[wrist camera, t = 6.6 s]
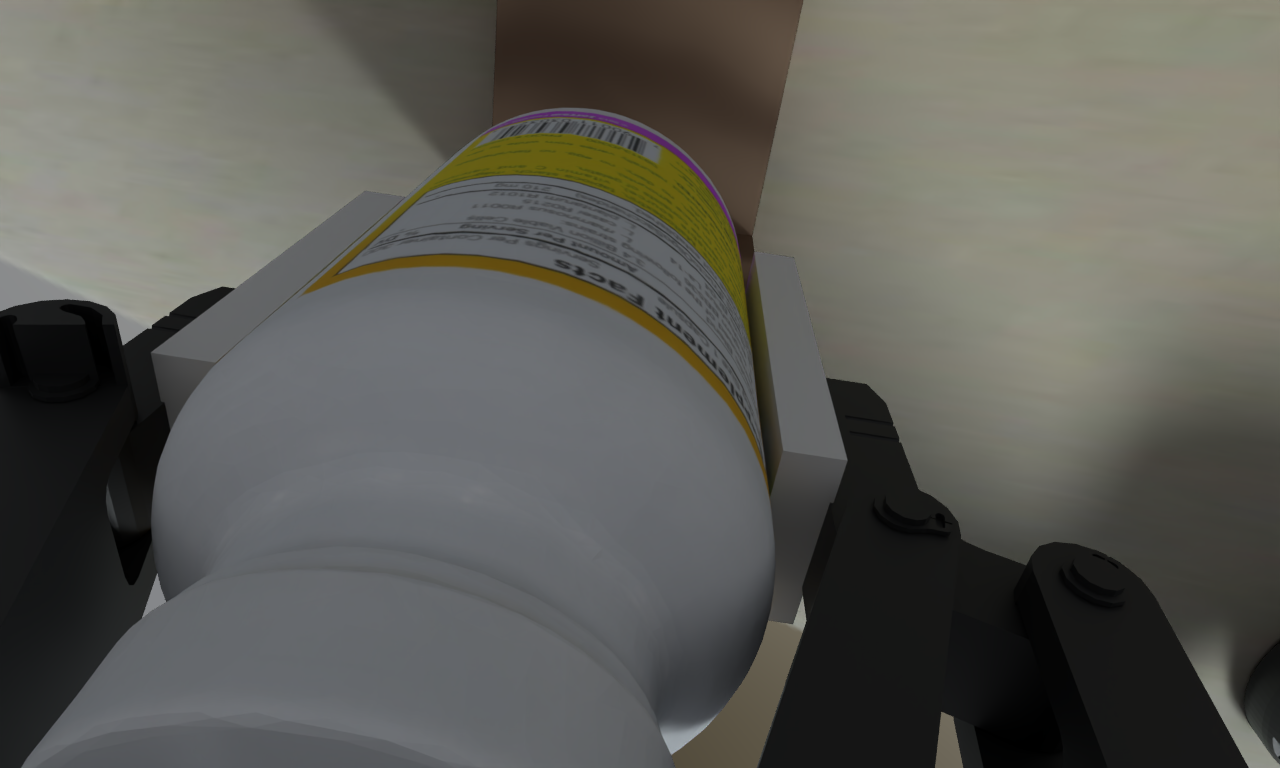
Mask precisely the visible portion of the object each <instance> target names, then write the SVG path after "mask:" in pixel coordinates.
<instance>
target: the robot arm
mask: <svg viewBox="0 0 1280 768" xmlns="http://www.w3.org/2000/svg"><path fill="white" fill-rule="evenodd" d="M404 199H405V197H402V196H395V195H389V194H382V193H376V192H369V191H364V192H363V193H362V194H360V195H359V196H358V197H356V198H355V199H354V200H352V201H351V202H350V203H348V204H347V205H346V206H344V207H343V208H342V209H340V210H339V211H338V212H336V213H335V214H334V215H333V216H331V217H330V218H329V219H327V220H326V221H325V222H323V223H322V224H321V225H319V226H318V227H317V228H315V229H314V230H313V231H311V232H310V233H309V234H307V235H306V236H305V237H303V238H302V239H301V240H299V241H298V242H297V243H295V244H294V245H293V246H291V247H290V248H289V249H287V250H286V251H285V252H283V253H282V254H281V255H279V256H278V257H277V258H276V259H274V260H273V261H272V262H270V263H269V264H268V265H266V266H265V267H264V268H262V269H261V270H260V271H258V272H257V273H256V274H254V275H253V276H252V277H250V278H249V279H248V280H246V281H245V282H244V283H242V284H241V285H240V286H238V287H237V288H236V289H235V288H228V287H220V288H217V289H214V290H211V291H209V292H206V293H203V294H200V295H197V296H194V297H192V298H190V299H188V300H187V301H186V302H184V303H183V304H181V305H180V306H179V307H177V308H176V309H174V310H173V311H171V312H170V315H169V316H164V317H163V318H162V319H160V320H159V321H157V322H156V323H155V324H153V325H152V329H148V328H147V329H146V330H145V331H143V332H142V333H140V334H139V335H138V336H136V337H135V338H134V339H132V340H131V341H129V342H128V343H126V344H125V345H122V341H121V337H120V333H119V328H118V324H117V319H116V315H115V314H114V313H113V312H112V311H111V310H110V309H109V308H108V307H106V306H103V305H100V304H97V303H94V302H90V301H80V300H68V299H65V300H49V301H38V302H34V303H28V304H23V305H18V306H14V307H11V308H8V309H6V310H3V311H0V768H21V767H22V765H23V764H24V762H25V761H26V759H27V758H28V756H29V755H30V754H31V753H32V751H33V750H34V749H35V747H36V746H37V745H38V744H39V742H40V741H41V740H42V739H43V737H44V736H45V735H46V734H47V732H48V731H49V730H50V729H51V727H52V726H53V725H54V724H55V722H56V721H57V720H58V719H59V717H60V716H61V715H62V714H63V712H64V711H65V710H66V709H67V707H68V706H69V705H70V704H71V702H72V701H73V700H74V699H75V697H76V696H77V695H78V693H79V692H80V691H81V689H82V688H83V687H84V685H85V684H86V683H87V681H88V680H89V679H90V677H91V676H92V675H93V673H94V672H95V671H96V669H97V668H98V667H99V665H100V664H101V663H102V661H103V660H104V659H105V657H106V656H107V655H108V653H109V652H110V651H111V649H112V648H113V647H114V646H115V644H116V643H117V642H118V641H119V640H120V638H121V637H122V636H123V635H124V634H125V633H126V632H127V631H128V630H129V629H130V628H131V627H132V626H133V625H134V624H136V623H137V622H138V621H139V620H141V619H142V616H143V613H144V610H145V607H146V604H147V601H148V598H149V595H150V592H151V590H152V586H153V583H154V581H155V578H156V575H157V569H156V565H155V560H154V552H153V544H152V531H151V513H152V500H153V490H154V484H155V478H156V472H157V467H158V463H159V460H160V457H161V455H162V452H163V449H164V447H165V444H166V441H167V439H168V436H169V433H170V431H171V429H172V427H173V425H174V423H175V421H176V419H177V417H178V415H179V413H180V411H181V410H182V408H183V406H184V405H185V403H186V401H187V400H188V398H189V397H190V395H191V394H192V393H193V391H194V390H195V389H196V388H197V386H198V385H199V384H200V382H201V381H202V380H203V378H204V377H205V376H206V375H207V373H208V372H209V371H210V369H211V368H212V367H213V366H215V365H216V364H217V363H218V362H219V361H220V360H221V359H222V358H223V357H224V356H225V355H226V354H227V353H228V352H229V351H230V350H232V349H233V348H234V347H235V346H236V345H237V344H238V343H239V342H240V341H241V340H242V339H243V338H245V337H246V336H247V335H248V334H249V333H250V332H252V331H253V330H254V329H255V328H256V327H258V326H259V325H260V324H261V323H262V322H263V321H265V320H266V319H267V318H268V317H269V316H271V315H272V314H273V313H274V312H275V311H276V310H278V309H279V308H280V307H281V306H282V305H283V304H285V303H286V302H287V301H288V300H289V299H291V298H292V297H293V296H294V295H295V294H296V293H298V292H299V291H300V290H301V289H302V288H304V287H305V286H306V285H307V284H308V283H309V282H311V281H312V280H313V279H314V278H315V277H317V276H318V275H319V274H320V273H321V272H322V271H323V270H324V269H326V268H327V267H328V266H329V265H330V264H331V263H332V262H334V261H335V260H336V259H337V258H338V257H339V256H340V255H341V254H343V253H344V252H345V251H346V250H347V249H348V248H349V247H351V246H352V245H353V244H354V243H355V242H356V241H357V240H359V239H360V238H361V237H362V236H363V235H364V234H365V233H366V232H368V231H369V230H370V229H371V228H372V227H373V226H374V225H376V224H377V223H378V222H379V221H380V220H381V219H382V218H383V217H385V216H386V215H387V214H388V213H389V212H390V211H391V210H392V209H394V208H395V207H396V206H397V205H398V204H399V203H400V202H401V201H402V200H404ZM745 294H746V304H747V313H748V321H749V330H750V338H751V347H752V356H753V365H754V374H755V382H756V391H757V400H758V409H759V417H760V424H761V433H762V441H763V449H764V457H765V464H766V472H767V480H768V487H769V495H770V503H771V511H772V521H773V531H774V541H775V583H774V592H773V599H772V605H771V611H770V615H769V619H768V620H769V621H776V622H782V623H789V624H793V623H794V620H795V617H796V614H797V611H798V608H799V605H800V602H801V599H802V596H803V599H804V606H805V613H806V620H807V622H806V625H805V628H804V630H803V633H802V637H801V639H800V642H799V645H798V648H797V651H796V654H795V656H794V659H793V663H792V665H791V668H790V671H789V674H788V677H787V680H786V683H785V686H784V690H783V692H782V695H781V698H780V701H779V704H778V707H777V710H776V713H775V716H774V719H773V722H772V725H771V727H770V730H769V733H768V736H767V739H766V742H765V745H764V748H763V751H762V754H761V757H760V760H759V763H758V766H757V768H935V762H936V753H937V744H938V735H939V726H940V717H941V712H944V713H946V714H948V715H951V716H953V717H954V724H955V729H956V733H957V738H958V743H959V748H960V753H961V758H962V763H963V768H1249V767H1248V766H1247V764H1246V762H1245V760H1244V758H1243V757H1242V755H1241V753H1240V751H1239V749H1238V747H1237V746H1236V744H1235V742H1234V740H1233V738H1232V737H1231V735H1230V733H1229V731H1228V729H1227V727H1226V726H1225V724H1224V722H1223V720H1222V718H1221V717H1220V715H1219V713H1218V711H1217V709H1216V707H1215V706H1214V704H1213V702H1212V700H1211V698H1210V697H1209V695H1208V693H1207V691H1206V689H1205V687H1204V686H1203V684H1202V682H1201V680H1200V678H1199V677H1198V675H1197V673H1196V671H1195V669H1194V667H1193V666H1192V664H1191V662H1190V660H1189V658H1188V657H1187V655H1186V653H1185V651H1184V649H1183V647H1182V646H1181V644H1180V642H1179V640H1178V638H1177V637H1176V635H1175V633H1174V631H1173V629H1172V627H1171V626H1170V624H1169V622H1168V620H1167V618H1166V617H1165V615H1164V613H1163V611H1162V609H1161V607H1160V606H1159V604H1158V602H1157V600H1156V598H1155V597H1154V595H1153V594H1152V593H1151V591H1150V590H1149V589H1148V588H1147V586H1146V585H1145V584H1144V582H1143V581H1142V580H1141V579H1140V578H1139V577H1137V576H1136V575H1135V574H1134V573H1132V572H1131V571H1130V570H1129V569H1127V568H1126V567H1125V566H1124V565H1122V564H1121V563H1120V562H1118V561H1116V560H1115V559H1113V558H1111V557H1108V556H1107V555H1106V554H1103V553H1101V552H1099V551H1097V550H1092V549H1089V548H1086V547H1083V546H1080V545H1077V544H1070V543H1060V542H1053V543H1049V544H1045V545H1041V546H1039V547H1038V548H1037V550H1036V551H1035V552H1034V553H1033V555H1032V556H1031V558H1030V560H1029V562H1028V564H1027V566H1026V565H1023V564H1021V563H1018V562H1015V561H1012V560H1010V559H1007V558H1004V557H1001V556H999V555H996V554H993V553H990V552H988V551H985V550H983V549H980V548H978V547H976V546H974V545H971V544H969V543H967V542H965V541H963V540H962V539H961V534H960V529H959V524H958V521H957V520H956V519H955V517H954V516H953V515H952V514H951V512H950V511H949V510H948V508H947V507H945V506H944V505H943V504H941V503H940V502H939V501H937V500H936V499H935V498H933V497H932V496H931V495H928V494H926V493H924V492H922V491H920V490H919V489H918V487H917V484H916V481H915V479H914V476H913V473H912V471H911V468H910V466H909V463H908V460H907V458H906V455H905V452H904V450H903V447H902V444H901V443H899V436H898V434H897V431H896V429H895V426H893V421H892V418H891V415H890V413H889V410H888V407H887V405H886V403H885V402H884V401H883V400H882V399H881V398H880V397H879V396H878V395H877V394H876V393H875V392H874V391H873V390H872V389H871V388H870V387H869V386H868V385H867V384H862V383H855V382H849V381H842V380H836V379H830V378H826V377H825V373H824V369H823V366H822V362H821V358H820V354H819V351H818V347H817V343H816V339H815V335H814V332H813V328H812V324H811V320H810V316H809V313H808V309H807V305H806V301H805V298H804V294H803V290H802V286H801V282H800V279H799V275H798V271H797V267H796V264H795V260H794V257H787V256H781V255H774V254H768V253H761V252H755V251H754V255H753V260H752V264H751V269H750V273H749V278H748V282H747V287H746V291H745ZM1244 706H1245V712H1246V716H1247V719H1248V721H1249V723H1250V725H1251V727H1252V728H1253V730H1254V731H1255V733H1256V734H1257V735H1258V737H1259V738H1260V740H1261V741H1262V743H1263V744H1264V746H1265V747H1266V748H1267V750H1268V751H1269V753H1270V754H1271V755H1272V757H1273V758H1274V759H1275V760H1276V761H1277V762H1278V763H1279V764H1280V643H1279V644H1278V645H1276V646H1275V647H1274V648H1273V649H1272V650H1271V651H1270V652H1269V653H1268V654H1267V655H1266V656H1265V657H1264V659H1263V660H1262V661H1261V662H1260V664H1259V665H1258V666H1257V668H1256V669H1255V671H1254V673H1253V674H1252V676H1251V678H1250V680H1249V683H1248V685H1247V688H1246V692H1245V699H1244Z"/></svg>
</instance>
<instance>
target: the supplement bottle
mask: <svg viewBox="0 0 1280 768" xmlns="http://www.w3.org/2000/svg"><path fill="white" fill-rule="evenodd" d="M151 531H152V544H153V552H154V560H155V565H156V569H157V573H158V577H159V581H160V585H161V589H162V591H163V594H164V597H165V600H166V603H164V604H162V605H161V606H159V607H157V608H156V609H154V610H152V611H151V612H150V613H148V614H147V615H146V616H145V617H143V618H142V619H141V620H139V621H138V622H137V623H136V624H134V625H133V626H132V627H131V628H130V629H129V630H128V631H127V632H126V633H125V634H124V635H123V636H122V637H121V638H120V640H119V641H118V642H117V643H116V644H115V646H114V647H113V648H112V649H111V651H110V652H109V653H108V655H107V656H106V657H105V659H104V660H103V661H102V663H101V664H100V665H99V667H98V668H97V669H96V671H95V672H94V673H93V675H92V676H91V677H90V679H89V680H88V681H87V683H86V684H85V685H84V687H83V688H82V689H81V691H80V692H79V693H78V695H77V696H76V697H75V699H74V700H73V701H72V702H71V704H70V705H69V706H68V707H67V709H66V710H65V711H64V712H63V714H62V715H61V716H60V717H59V719H58V720H57V721H56V722H55V724H54V725H53V726H52V727H51V729H50V730H49V731H48V732H47V734H46V735H45V736H44V737H43V739H42V740H41V741H40V742H39V744H38V745H37V746H36V747H35V749H34V750H33V751H32V753H31V754H30V755H29V756H28V758H27V759H26V761H25V762H24V764H23V765H22V767H21V768H675V765H674V762H673V759H672V756H671V754H673V753H674V752H676V751H677V750H679V749H680V748H682V747H683V746H684V745H685V744H687V743H688V742H689V741H690V740H691V739H693V738H694V737H695V736H696V735H698V734H699V733H700V732H701V731H702V730H703V729H705V728H706V726H708V724H709V723H710V722H711V721H712V720H713V719H714V718H715V717H716V716H717V715H718V713H719V712H720V711H721V710H722V709H723V708H724V706H725V705H726V704H727V702H728V701H729V700H730V698H731V697H732V695H733V694H734V693H735V691H736V690H737V688H738V687H739V686H740V685H741V683H742V681H743V680H744V678H745V676H746V675H747V673H748V671H749V669H750V667H751V665H752V663H753V661H754V659H755V657H756V654H757V652H758V650H759V647H760V645H761V642H762V640H763V636H764V632H765V629H766V625H767V622H768V619H769V615H770V611H771V605H772V599H773V592H774V583H775V541H774V531H773V521H772V511H771V503H770V495H769V487H768V480H767V472H766V464H765V457H764V449H763V441H762V433H761V424H760V417H759V409H758V400H757V391H756V382H755V374H754V365H753V356H752V347H751V338H750V330H749V321H748V313H747V304H746V294H745V288H744V278H743V272H742V263H741V256H740V251H739V246H738V241H737V236H736V232H735V229H734V225H733V223H732V220H731V217H730V214H729V212H728V210H727V207H726V205H725V203H724V201H723V199H722V197H721V195H720V194H719V192H718V191H717V189H716V187H715V186H714V184H713V183H712V181H711V180H710V178H709V177H708V176H707V175H706V174H705V172H704V171H703V170H702V169H701V168H700V167H699V166H698V164H697V163H696V162H695V161H694V160H693V159H692V158H691V157H690V156H689V155H688V154H687V153H686V152H685V151H684V150H682V149H681V148H680V147H679V146H678V145H676V144H675V143H674V142H673V141H671V140H670V139H668V138H667V137H665V136H664V135H662V134H661V133H659V132H657V131H655V130H654V129H652V128H650V127H648V126H646V125H644V124H642V123H640V122H638V121H635V120H632V119H630V118H627V117H625V116H622V115H618V114H615V113H610V112H606V111H601V110H595V109H587V108H555V109H545V110H540V111H534V112H530V113H526V114H523V115H519V116H516V117H514V118H511V119H508V120H506V121H504V122H502V123H499V124H497V125H495V126H493V127H491V128H490V129H488V130H487V131H485V132H483V133H482V134H480V135H479V136H478V137H476V138H475V139H473V140H472V141H471V142H469V143H468V144H467V145H466V146H464V147H463V148H462V149H461V150H459V151H458V152H457V153H456V154H455V155H454V156H452V157H451V158H450V159H449V160H448V161H447V162H445V163H444V164H443V165H442V166H441V167H439V168H438V169H437V170H436V171H435V172H434V173H433V174H432V175H430V176H429V177H428V178H427V179H426V180H425V181H424V182H423V183H421V184H420V185H419V186H418V187H417V188H416V189H415V190H414V191H412V192H411V193H410V194H409V195H408V196H407V197H406V198H405V199H404V200H402V201H401V202H400V203H399V204H398V205H397V206H396V207H395V208H394V209H392V210H391V211H390V212H389V213H388V214H387V215H386V216H385V217H383V218H382V219H381V220H380V221H379V222H378V223H377V224H376V225H374V226H373V227H372V228H371V229H370V230H369V231H368V232H366V233H365V234H364V235H363V236H362V237H361V238H360V239H359V240H357V241H356V242H355V243H354V244H353V245H352V246H351V247H349V248H348V249H347V250H346V251H345V252H344V253H343V254H341V255H340V256H339V257H338V258H337V259H336V260H335V261H334V262H332V263H331V264H330V265H329V266H328V267H327V268H326V269H324V270H323V271H322V272H321V273H320V274H319V275H318V276H317V277H315V278H314V279H313V280H312V281H311V282H309V283H308V284H307V285H306V286H305V287H304V288H302V289H301V290H300V291H299V292H298V293H296V294H295V295H294V296H293V297H292V298H291V299H289V300H288V301H287V302H286V303H285V304H283V305H282V306H281V307H280V308H279V309H278V310H276V311H275V312H274V313H273V314H272V315H271V316H269V317H268V318H267V319H266V320H265V321H263V322H262V323H261V324H260V325H259V326H258V327H256V328H255V329H254V330H253V331H252V332H250V333H249V334H248V335H247V336H246V337H245V338H243V339H242V340H241V341H240V342H239V343H238V344H237V345H236V346H235V347H234V348H233V349H232V350H230V351H229V352H228V353H227V354H226V355H225V356H224V357H223V358H222V359H221V360H220V361H219V362H218V363H217V364H216V365H215V366H213V367H212V368H211V369H210V371H209V372H208V373H207V375H206V376H205V377H204V378H203V380H202V381H201V382H200V384H199V385H198V386H197V388H196V389H195V390H194V391H193V393H192V394H191V395H190V397H189V398H188V400H187V401H186V403H185V405H184V406H183V408H182V410H181V411H180V413H179V415H178V417H177V419H176V421H175V423H174V425H173V427H172V429H171V431H170V433H169V436H168V439H167V441H166V444H165V447H164V449H163V452H162V455H161V457H160V460H159V463H158V467H157V472H156V478H155V484H154V490H153V500H152V513H151Z"/></svg>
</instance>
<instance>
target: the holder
mask: <svg viewBox="0 0 1280 768" xmlns="http://www.w3.org/2000/svg"><path fill="white" fill-rule="evenodd" d="M802 5H803V0H497V21H496V46H495V72H494V97H493V122H492V127H493V126H495V125H497V124H499V123H502V122H504V121H506V120H508V119H511V118H514V117H516V116H519V115H523V114H526V113H530V112H534V111H540V110H545V109H555V108H587V109H595V110H601V111H606V112H610V113H615V114H618V115H622V116H625V117H627V118H630V119H632V120H635V121H638V122H640V123H642V124H644V125H646V126H648V127H650V128H652V129H654V130H655V131H657V132H659V133H661V134H662V135H664V136H665V137H667V138H668V139H670V140H671V141H673V142H674V143H675V144H676V145H678V146H679V147H680V148H681V149H682V150H684V151H685V152H686V153H687V154H688V155H689V156H690V157H691V158H692V159H693V160H694V161H695V162H696V163H697V164H698V166H699V167H700V168H701V169H702V170H703V171H704V172H705V174H706V175H707V176H708V177H709V178H710V180H711V181H712V183H713V184H714V186H715V187H716V189H717V191H718V192H719V194H720V195H721V197H722V199H723V201H724V203H725V205H726V207H727V210H728V212H729V214H730V217H731V220H732V223H733V225H734V229H735V232H736V236H737V241H738V246H739V251H740V256H741V263H742V272H743V278H744V288H745V291H746V287H747V282H748V278H749V273H750V269H751V264H752V260H753V255H754V246H753V238H752V235H753V230H754V226H755V221H756V216H757V212H758V207H759V203H760V198H761V193H762V189H763V184H764V180H765V175H766V170H767V166H768V161H769V156H770V152H771V147H772V143H773V138H774V133H775V129H776V124H777V120H778V115H779V110H780V106H781V101H782V97H783V92H784V87H785V83H786V78H787V74H788V69H789V64H790V60H791V55H792V51H793V46H794V41H795V37H796V32H797V28H798V23H799V18H800V14H801V9H802Z"/></svg>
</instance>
